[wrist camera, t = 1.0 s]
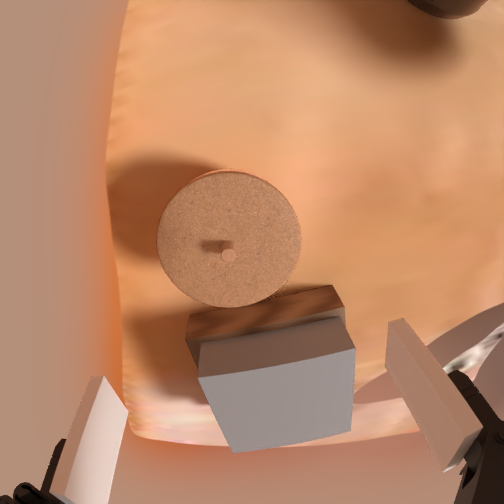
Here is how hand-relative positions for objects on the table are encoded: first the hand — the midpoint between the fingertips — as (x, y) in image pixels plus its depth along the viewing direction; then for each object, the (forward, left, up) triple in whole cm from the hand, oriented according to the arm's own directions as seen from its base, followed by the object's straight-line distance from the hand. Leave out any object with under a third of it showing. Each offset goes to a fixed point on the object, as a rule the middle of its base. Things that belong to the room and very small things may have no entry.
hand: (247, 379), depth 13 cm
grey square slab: (-1, +16, -15) cm, 22 cm away
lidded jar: (0, -2, -19) cm, 19 cm away
